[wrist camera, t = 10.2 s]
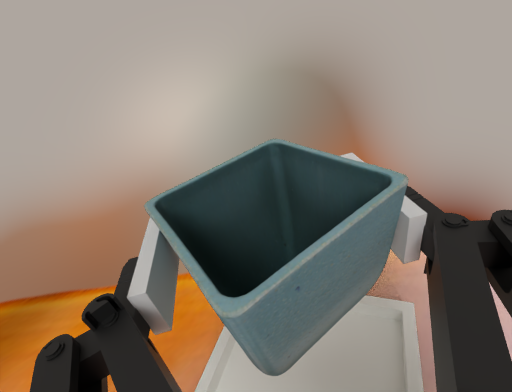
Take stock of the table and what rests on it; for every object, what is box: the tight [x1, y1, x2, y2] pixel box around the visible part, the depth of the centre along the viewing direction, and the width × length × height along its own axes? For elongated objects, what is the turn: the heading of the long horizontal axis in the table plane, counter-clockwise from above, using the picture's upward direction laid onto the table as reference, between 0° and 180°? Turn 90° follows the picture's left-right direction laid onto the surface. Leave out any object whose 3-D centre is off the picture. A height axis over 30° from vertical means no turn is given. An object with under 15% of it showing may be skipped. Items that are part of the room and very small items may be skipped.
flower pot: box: [144, 139, 408, 376], centre depth 14 cm, size 9×9×9 cm
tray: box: [195, 295, 424, 392], centre depth 22 cm, size 17×17×2 cm
